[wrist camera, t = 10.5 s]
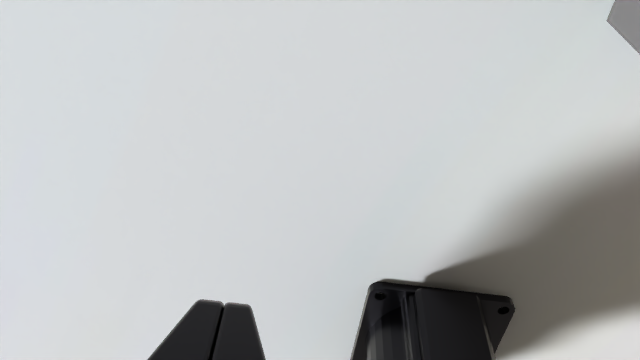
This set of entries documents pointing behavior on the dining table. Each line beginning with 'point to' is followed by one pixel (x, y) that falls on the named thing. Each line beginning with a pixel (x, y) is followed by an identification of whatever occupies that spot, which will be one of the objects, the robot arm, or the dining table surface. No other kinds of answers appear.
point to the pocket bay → (627, 21)
